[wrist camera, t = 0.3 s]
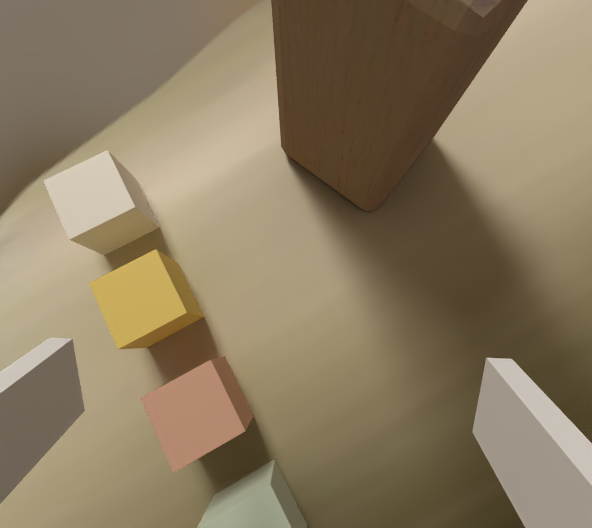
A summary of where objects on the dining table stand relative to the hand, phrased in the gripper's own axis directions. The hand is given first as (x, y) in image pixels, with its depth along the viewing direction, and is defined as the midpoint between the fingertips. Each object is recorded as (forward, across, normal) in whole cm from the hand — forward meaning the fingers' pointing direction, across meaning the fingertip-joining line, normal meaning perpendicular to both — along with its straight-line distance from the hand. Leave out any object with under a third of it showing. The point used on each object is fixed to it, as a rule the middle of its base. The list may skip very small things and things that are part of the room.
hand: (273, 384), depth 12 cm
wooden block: (+25, -4, -8) cm, 26 cm away
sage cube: (+10, +2, +18) cm, 21 cm away
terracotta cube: (+14, +6, +11) cm, 19 cm away
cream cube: (+20, +15, -2) cm, 25 cm away
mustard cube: (+17, +11, +5) cm, 21 cm away
